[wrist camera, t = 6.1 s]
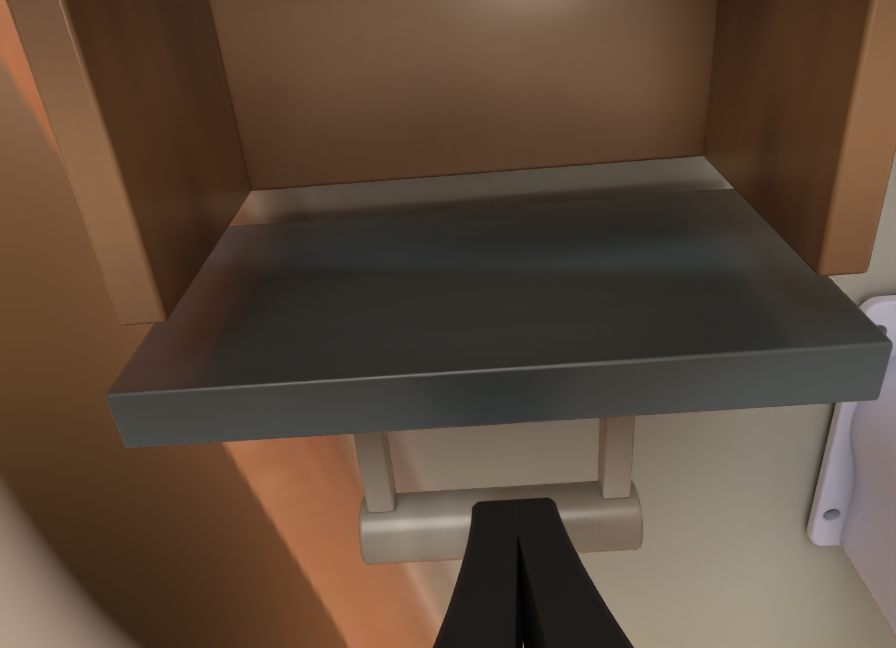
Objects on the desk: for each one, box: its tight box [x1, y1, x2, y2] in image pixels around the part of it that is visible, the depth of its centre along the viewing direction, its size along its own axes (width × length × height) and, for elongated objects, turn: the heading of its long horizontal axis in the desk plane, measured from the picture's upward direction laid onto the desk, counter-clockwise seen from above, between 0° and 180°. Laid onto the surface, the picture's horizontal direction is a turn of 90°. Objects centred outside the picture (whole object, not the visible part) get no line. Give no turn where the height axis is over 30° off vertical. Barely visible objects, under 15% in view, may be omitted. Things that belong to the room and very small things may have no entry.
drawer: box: [6, 0, 896, 565], centre depth 14 cm, size 18×13×7 cm
